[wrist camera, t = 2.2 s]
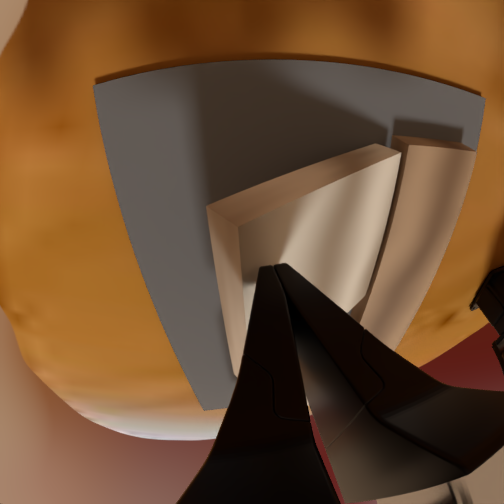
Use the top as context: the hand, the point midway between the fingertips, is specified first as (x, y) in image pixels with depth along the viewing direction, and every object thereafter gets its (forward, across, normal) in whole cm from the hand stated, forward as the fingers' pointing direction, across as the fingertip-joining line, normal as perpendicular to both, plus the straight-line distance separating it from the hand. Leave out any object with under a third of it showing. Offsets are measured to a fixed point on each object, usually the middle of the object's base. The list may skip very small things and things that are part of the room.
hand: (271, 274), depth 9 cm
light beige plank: (+4, -3, +3) cm, 5 cm away
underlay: (+6, -5, +10) cm, 13 cm away
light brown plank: (+6, -11, +10) cm, 16 cm away
